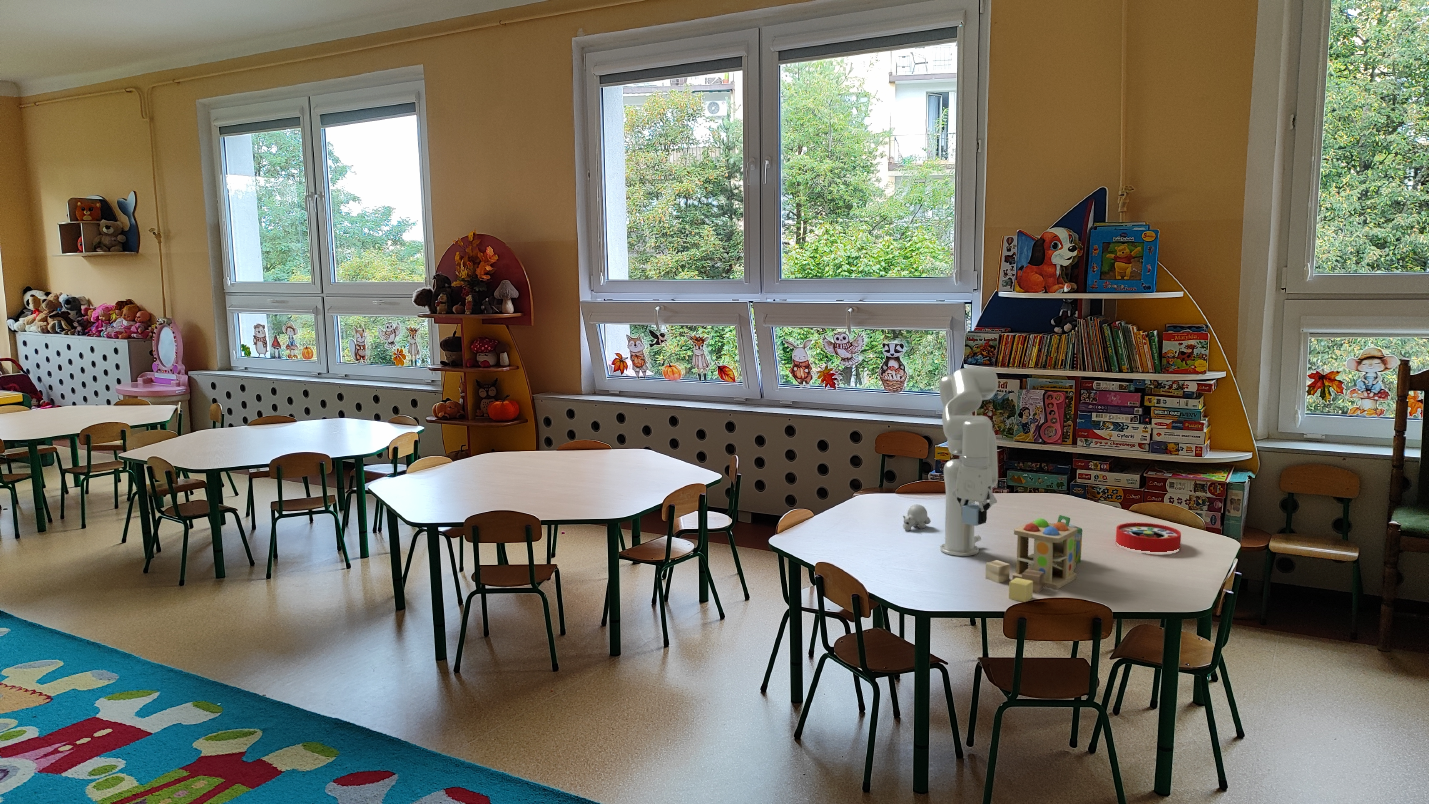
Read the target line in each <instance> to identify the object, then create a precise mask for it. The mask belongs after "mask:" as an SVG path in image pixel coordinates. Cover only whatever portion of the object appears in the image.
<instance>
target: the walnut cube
mask: <svg viewBox="0 0 1429 804" xmlns="http://www.w3.org/2000/svg"><path fill="white" fill-rule="evenodd" d="M1022 579H1025V580H1030V581H1033V593H1037V594H1038V593H1040V592H1041V591H1042V590H1043V589H1044V588H1045V587H1044V572H1041V571H1035V570H1029V569H1027V570H1026V571H1024V572H1023V573H1022Z"/></svg>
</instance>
